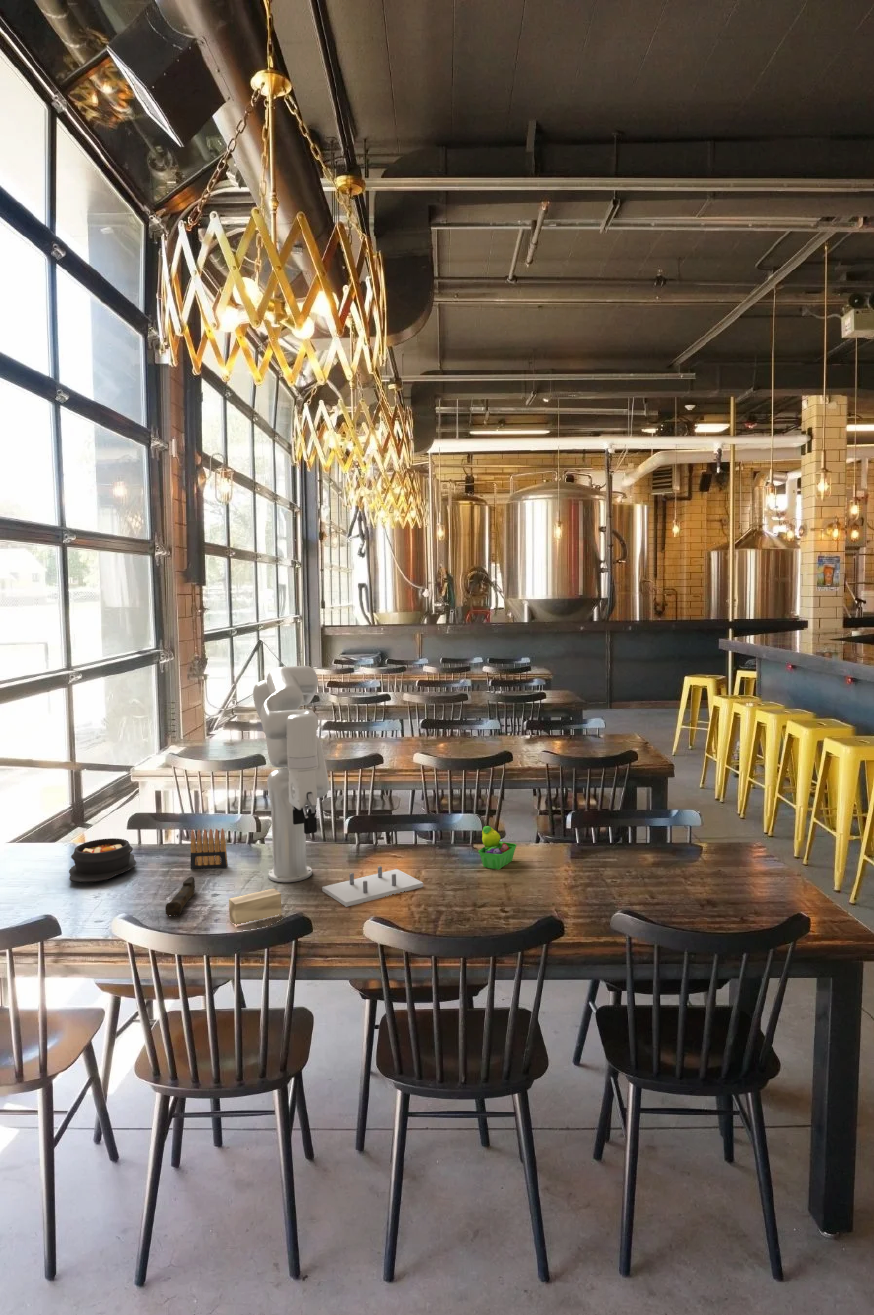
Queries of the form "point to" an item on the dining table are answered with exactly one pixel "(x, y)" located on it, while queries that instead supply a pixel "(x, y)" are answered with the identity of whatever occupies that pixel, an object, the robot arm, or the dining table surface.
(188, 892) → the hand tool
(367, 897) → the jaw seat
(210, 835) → the ammunition clip
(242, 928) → the dining table surface
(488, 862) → the fruit basket
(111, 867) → the casserole
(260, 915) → the block
